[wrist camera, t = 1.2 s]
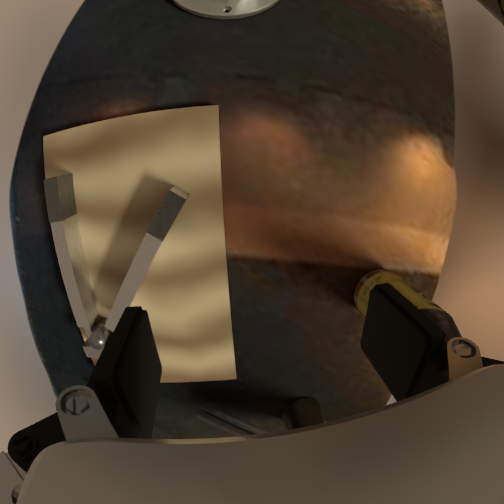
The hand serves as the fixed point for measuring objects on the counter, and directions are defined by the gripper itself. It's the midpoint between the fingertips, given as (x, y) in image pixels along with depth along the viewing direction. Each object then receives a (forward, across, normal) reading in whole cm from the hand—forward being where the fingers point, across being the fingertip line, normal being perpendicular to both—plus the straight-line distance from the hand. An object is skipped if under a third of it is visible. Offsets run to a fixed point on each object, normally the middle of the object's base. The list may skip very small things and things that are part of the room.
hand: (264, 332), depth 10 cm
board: (+18, +10, +4) cm, 21 cm away
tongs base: (+17, +15, +3) cm, 23 cm away
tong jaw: (+17, +9, +3) cm, 19 cm away
